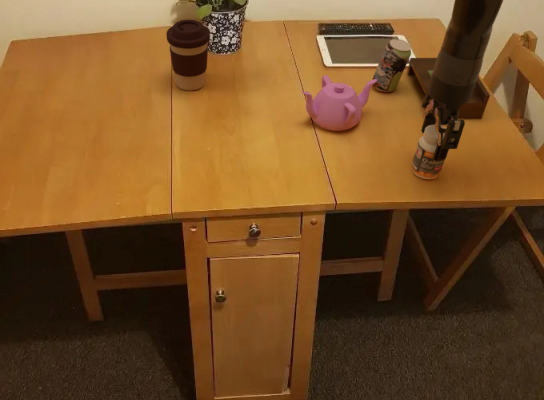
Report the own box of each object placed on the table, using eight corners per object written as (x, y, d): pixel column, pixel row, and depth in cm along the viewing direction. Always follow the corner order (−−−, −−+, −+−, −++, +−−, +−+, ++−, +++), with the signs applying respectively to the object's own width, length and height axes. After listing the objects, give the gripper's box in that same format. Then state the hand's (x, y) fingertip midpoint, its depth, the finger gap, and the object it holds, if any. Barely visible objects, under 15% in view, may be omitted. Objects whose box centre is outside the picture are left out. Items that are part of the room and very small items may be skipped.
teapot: (297, 125, 129) (301, 91, 123) (323, 96, 138) (327, 62, 132) (347, 142, 124) (354, 107, 118) (371, 111, 133) (378, 77, 127)
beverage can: (370, 80, 143) (379, 35, 135) (400, 82, 142) (411, 37, 134) (371, 94, 138) (380, 48, 130) (403, 96, 138) (414, 50, 129)
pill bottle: (418, 182, 115) (430, 142, 108) (405, 164, 119) (416, 124, 112) (444, 178, 116) (458, 138, 109) (431, 160, 120) (444, 121, 113)
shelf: (481, 118, 131) (490, 95, 127) (428, 119, 131) (435, 95, 126) (454, 72, 146) (461, 50, 141) (406, 72, 145) (412, 50, 141)
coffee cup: (215, 75, 144) (214, 18, 134) (205, 96, 137) (203, 38, 127) (176, 70, 146) (173, 14, 136) (164, 91, 139) (160, 33, 129)
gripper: (491, 94, 97) (463, 169, 108) (463, 52, 107) (440, 124, 118) (446, 95, 97) (423, 169, 108) (423, 52, 107) (404, 124, 118)
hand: (432, 145), depth 113 cm, fingers open, 8 cm apart
